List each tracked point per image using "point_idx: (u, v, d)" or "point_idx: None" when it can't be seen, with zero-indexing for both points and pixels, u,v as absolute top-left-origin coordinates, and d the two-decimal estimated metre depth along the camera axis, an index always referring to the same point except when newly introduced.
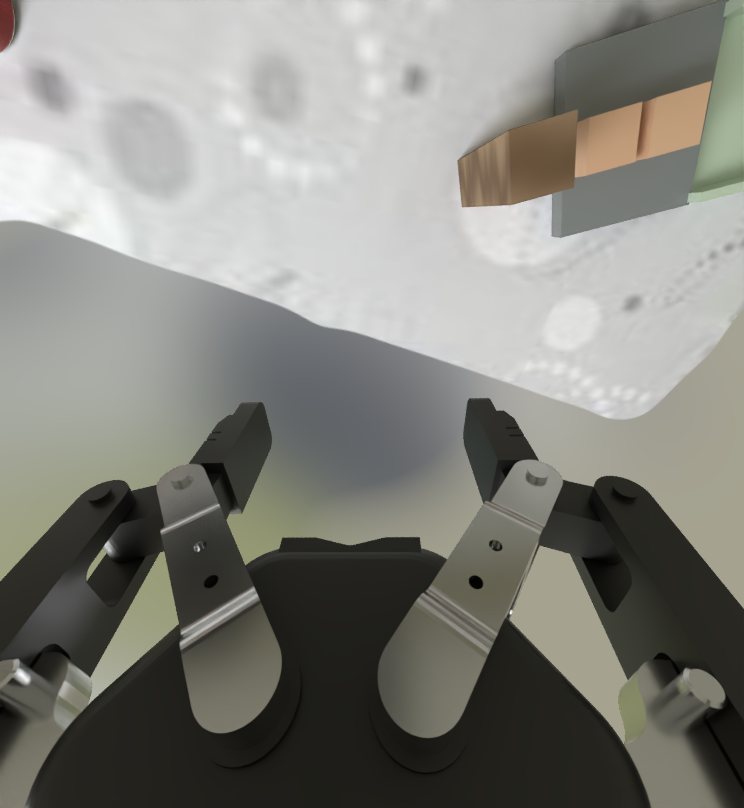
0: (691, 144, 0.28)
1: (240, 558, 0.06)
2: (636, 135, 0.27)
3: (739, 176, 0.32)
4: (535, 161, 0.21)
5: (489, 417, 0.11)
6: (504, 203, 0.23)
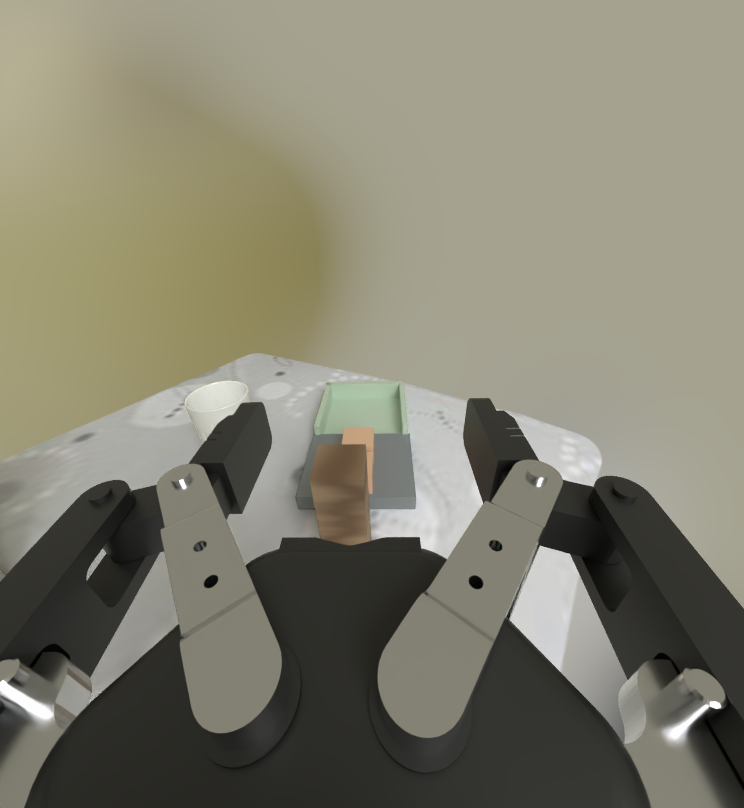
0: (372, 430, 0.44)
1: (240, 558, 0.06)
2: None
3: (400, 419, 0.54)
4: (338, 464, 0.26)
5: (489, 417, 0.11)
6: (362, 491, 0.25)
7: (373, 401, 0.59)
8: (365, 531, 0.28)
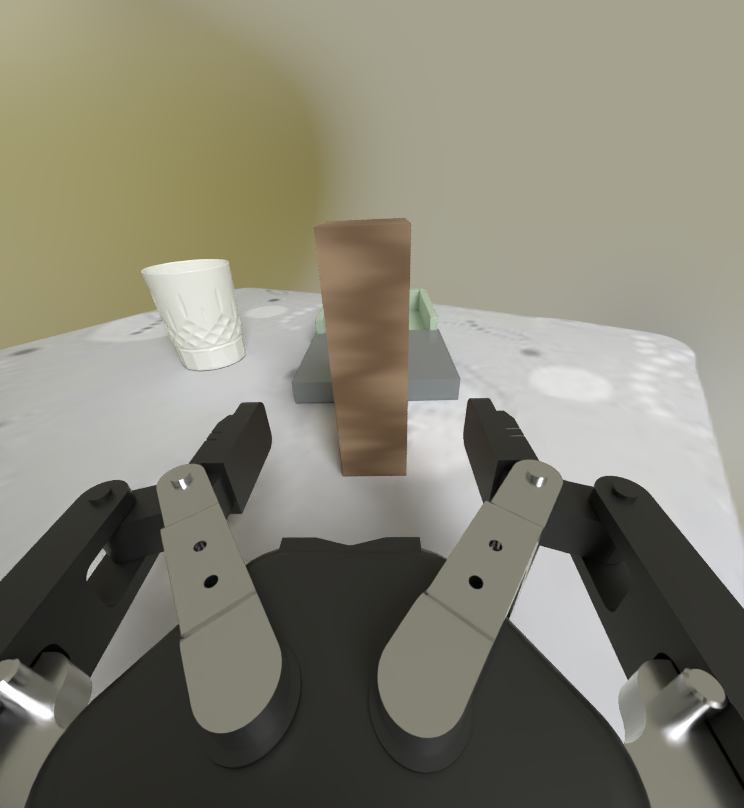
0: None
1: (240, 558, 0.06)
2: None
3: (423, 325, 0.43)
4: (363, 222, 0.15)
5: (489, 417, 0.11)
6: (407, 257, 0.14)
7: None
8: (406, 359, 0.17)
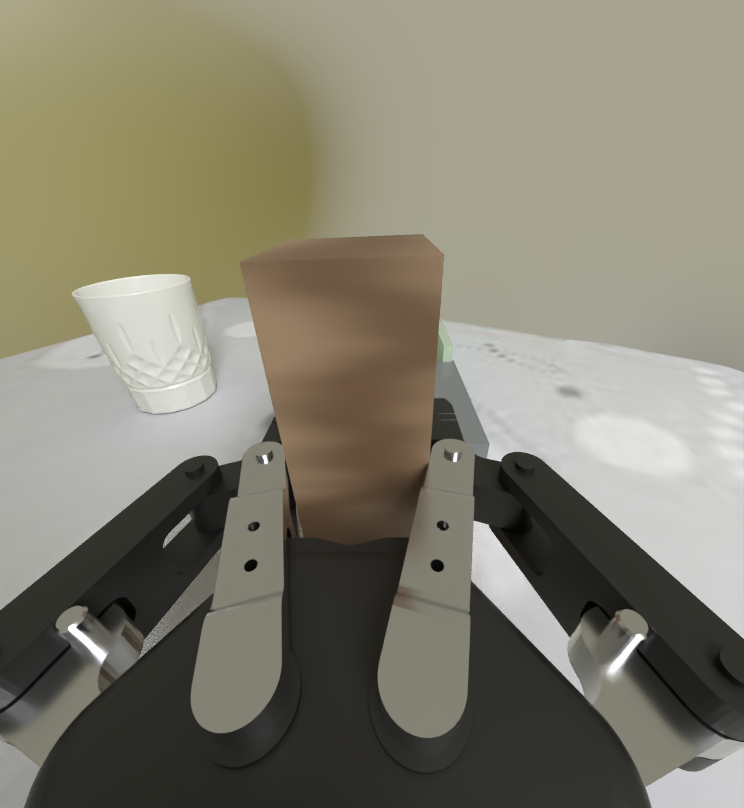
0: None
1: (281, 551, 0.06)
2: None
3: None
4: (347, 247, 0.08)
5: None
6: (434, 321, 0.07)
7: None
8: (424, 481, 0.10)
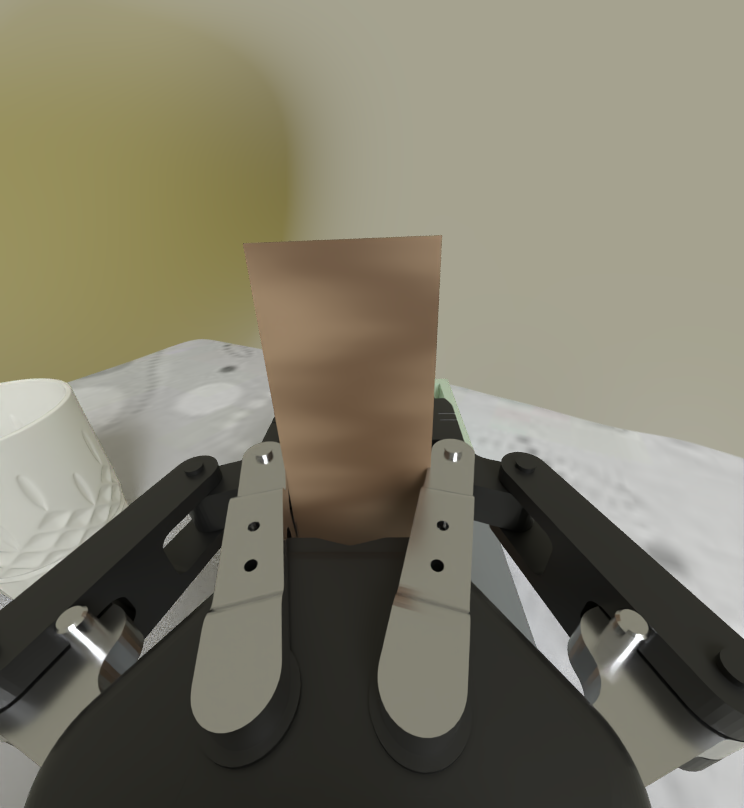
0: None
1: (282, 552, 0.06)
2: None
3: None
4: None
5: None
6: (433, 303, 0.07)
7: None
8: None
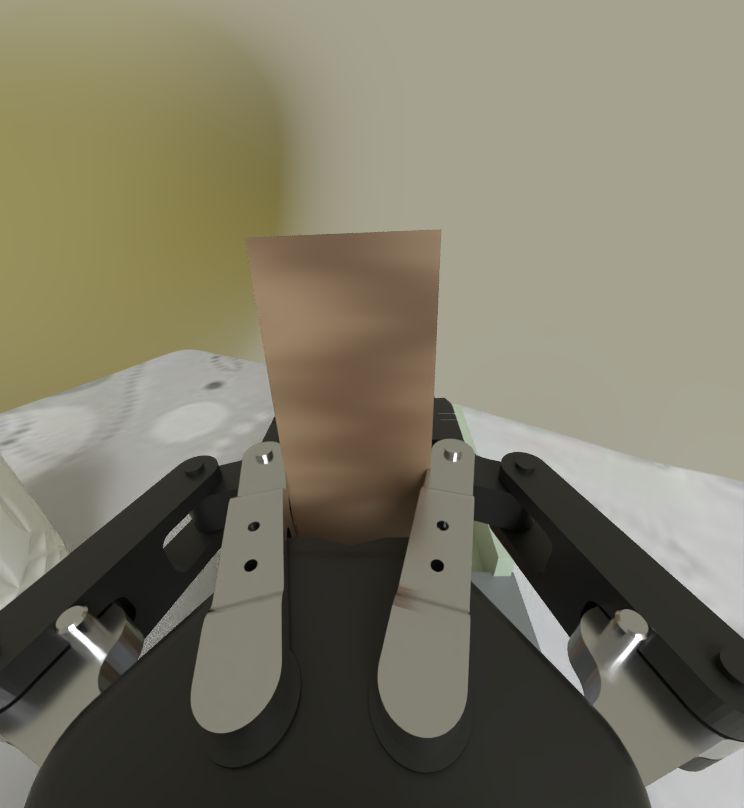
0: None
1: (282, 551, 0.06)
2: None
3: None
4: None
5: None
6: (433, 297, 0.07)
7: None
8: None
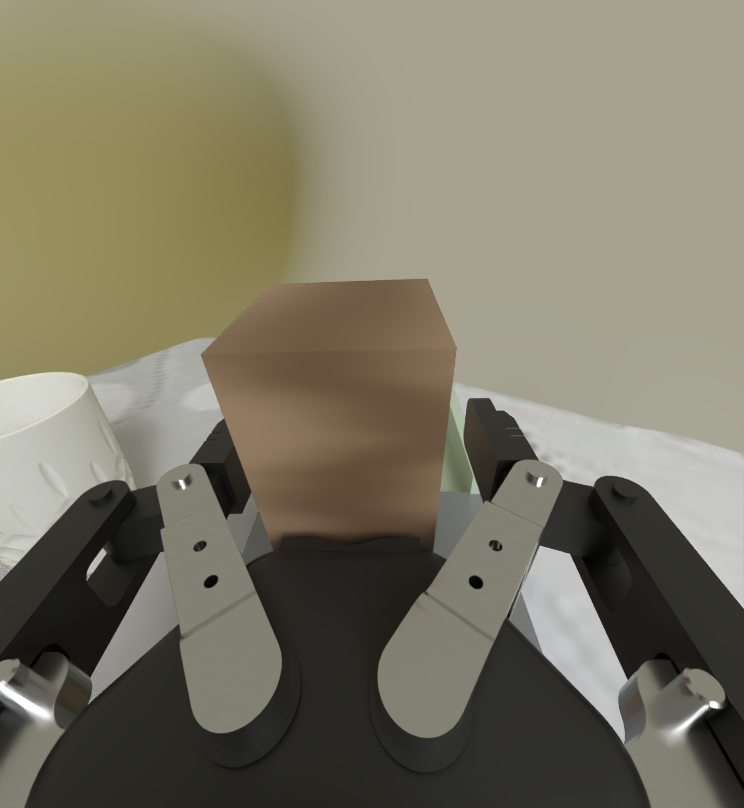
0: None
1: (240, 558, 0.06)
2: None
3: (451, 452, 0.26)
4: (337, 315, 0.06)
5: (489, 417, 0.11)
6: (442, 416, 0.06)
7: None
8: None
